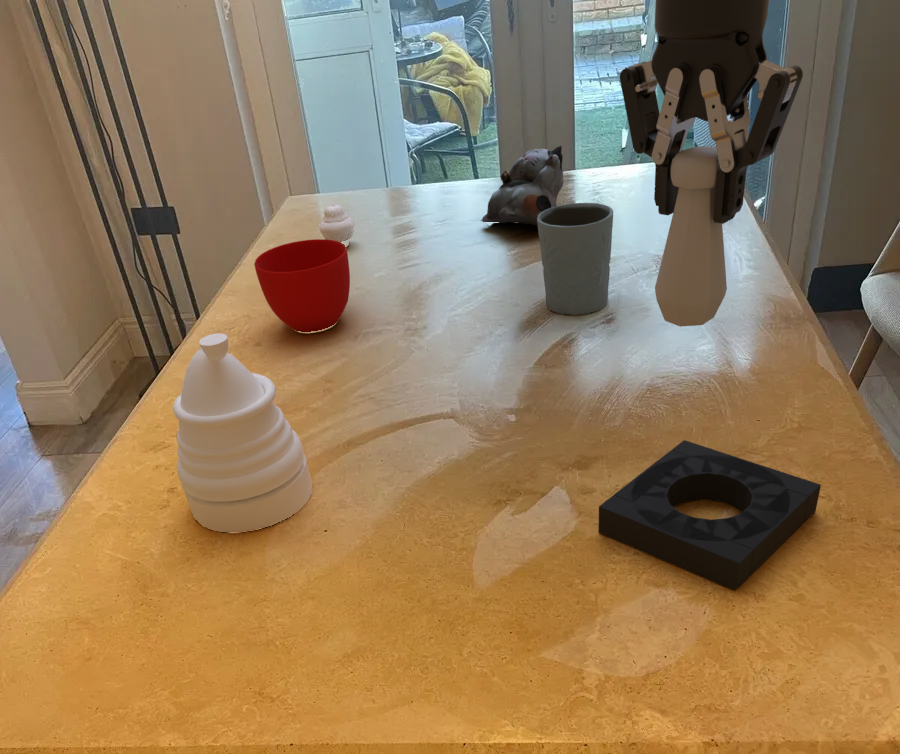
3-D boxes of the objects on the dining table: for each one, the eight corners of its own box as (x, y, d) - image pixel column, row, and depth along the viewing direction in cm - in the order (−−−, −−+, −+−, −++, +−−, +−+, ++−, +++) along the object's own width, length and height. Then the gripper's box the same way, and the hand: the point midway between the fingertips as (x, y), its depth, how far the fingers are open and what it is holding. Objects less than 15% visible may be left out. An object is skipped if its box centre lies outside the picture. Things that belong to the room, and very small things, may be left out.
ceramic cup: (387, 299, 128) (376, 231, 122) (330, 347, 117) (315, 275, 110) (315, 294, 133) (301, 228, 126) (254, 339, 122) (235, 270, 115)
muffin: (326, 242, 152) (318, 201, 148) (359, 238, 152) (352, 197, 147) (320, 254, 148) (312, 211, 143) (355, 250, 147) (347, 208, 142)
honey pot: (337, 490, 89) (298, 324, 77) (235, 549, 83) (176, 379, 71) (267, 452, 96) (223, 296, 85) (169, 504, 90) (107, 344, 79)
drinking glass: (573, 323, 114) (572, 231, 107) (525, 304, 121) (520, 216, 113) (627, 300, 118) (630, 209, 111) (577, 283, 125) (577, 196, 117)
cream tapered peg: (648, 330, 71) (655, 162, 63) (658, 302, 75) (665, 141, 67) (720, 331, 70) (738, 159, 61) (726, 303, 74) (743, 138, 65)
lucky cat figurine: (472, 223, 151) (490, 138, 147) (534, 240, 155) (553, 157, 151) (499, 218, 138) (519, 124, 133) (565, 237, 141) (587, 146, 137)
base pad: (682, 465, 85) (684, 439, 84) (815, 512, 77) (821, 484, 75) (598, 532, 78) (598, 506, 77) (735, 591, 70) (739, 563, 68)
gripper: (847, -69, 54) (805, 214, 65) (657, -57, 62) (648, 192, 73) (787, -52, 50) (753, 245, 61) (594, -41, 58) (594, 218, 70)
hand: (696, 215), depth 67 cm, fingers closed on cream tapered peg, 4 cm apart
